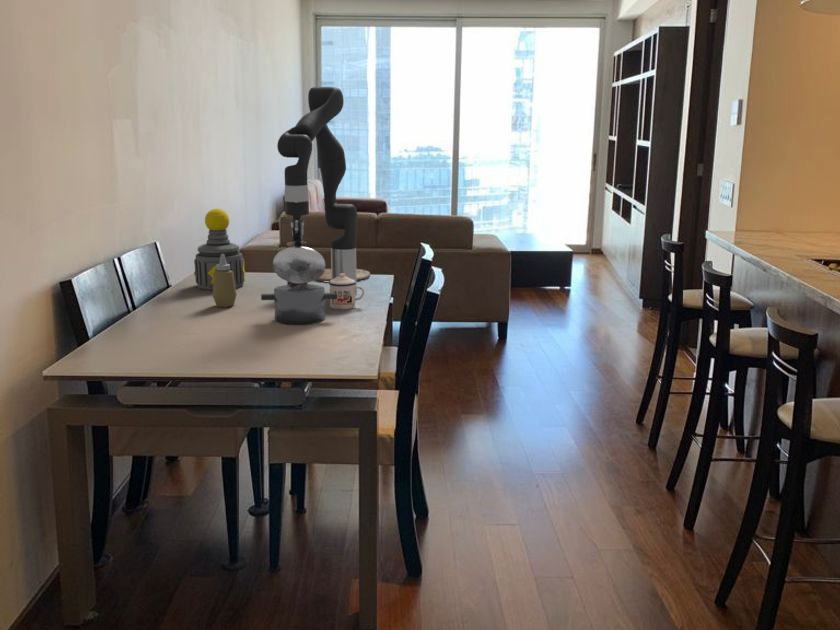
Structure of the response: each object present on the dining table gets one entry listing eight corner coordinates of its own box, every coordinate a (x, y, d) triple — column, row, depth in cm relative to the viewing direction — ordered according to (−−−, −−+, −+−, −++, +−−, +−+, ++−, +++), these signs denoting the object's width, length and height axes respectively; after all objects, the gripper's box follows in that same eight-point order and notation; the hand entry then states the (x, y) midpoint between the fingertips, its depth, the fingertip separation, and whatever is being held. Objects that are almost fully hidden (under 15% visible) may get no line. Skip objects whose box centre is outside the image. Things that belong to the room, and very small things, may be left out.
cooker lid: (275, 283, 265) (275, 276, 267) (326, 282, 266) (326, 275, 268) (270, 249, 252) (271, 241, 254) (324, 248, 253) (324, 241, 255)
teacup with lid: (328, 310, 273) (328, 276, 270) (330, 304, 282) (329, 271, 279) (364, 309, 274) (363, 276, 271) (364, 304, 282) (364, 271, 280)
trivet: (331, 270, 349) (331, 266, 349) (381, 275, 338) (381, 271, 337) (297, 280, 328) (296, 275, 327) (349, 285, 316) (349, 281, 316)
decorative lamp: (249, 281, 322) (246, 206, 316) (239, 290, 304) (236, 211, 297) (202, 281, 322) (198, 206, 315) (189, 290, 304) (184, 211, 297)
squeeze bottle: (236, 302, 284) (233, 252, 280) (238, 307, 276) (235, 255, 272) (212, 304, 281) (209, 253, 277) (214, 308, 274) (211, 256, 270)
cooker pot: (265, 314, 267) (263, 284, 264) (337, 312, 269) (337, 283, 266) (259, 325, 251) (258, 294, 249) (337, 324, 253) (336, 293, 251)
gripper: (286, 197, 259) (288, 250, 263) (283, 201, 246) (285, 257, 250) (309, 197, 260) (311, 250, 264) (307, 201, 247) (309, 257, 251)
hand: (298, 254), depth 257 cm, fingers closed
